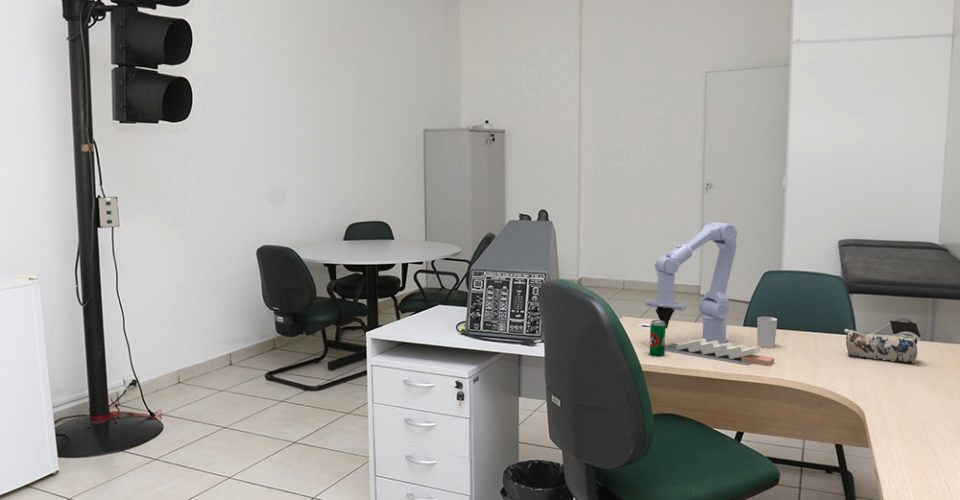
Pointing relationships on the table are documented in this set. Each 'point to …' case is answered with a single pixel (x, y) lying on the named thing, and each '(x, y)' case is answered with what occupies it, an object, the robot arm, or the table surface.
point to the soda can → (657, 338)
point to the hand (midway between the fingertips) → (664, 328)
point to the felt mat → (705, 355)
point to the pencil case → (882, 346)
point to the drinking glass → (766, 331)
